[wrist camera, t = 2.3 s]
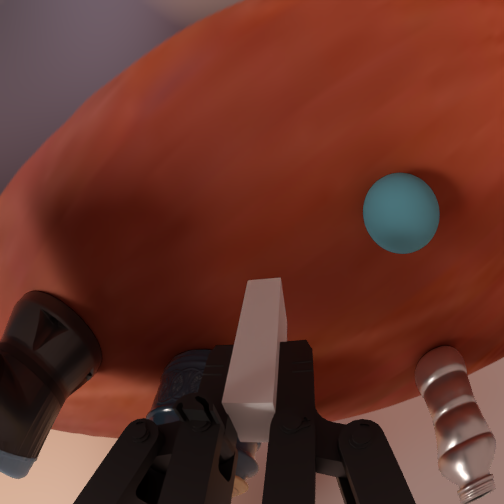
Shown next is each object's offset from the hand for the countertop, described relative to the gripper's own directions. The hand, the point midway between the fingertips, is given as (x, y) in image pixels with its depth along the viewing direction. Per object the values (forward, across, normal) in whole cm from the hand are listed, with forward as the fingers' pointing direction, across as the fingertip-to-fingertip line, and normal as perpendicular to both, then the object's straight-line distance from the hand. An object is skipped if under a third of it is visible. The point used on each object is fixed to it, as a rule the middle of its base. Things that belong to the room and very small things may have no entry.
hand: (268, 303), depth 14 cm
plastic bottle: (+12, +18, -21) cm, 30 cm away
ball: (+9, +10, 0) cm, 13 cm away
